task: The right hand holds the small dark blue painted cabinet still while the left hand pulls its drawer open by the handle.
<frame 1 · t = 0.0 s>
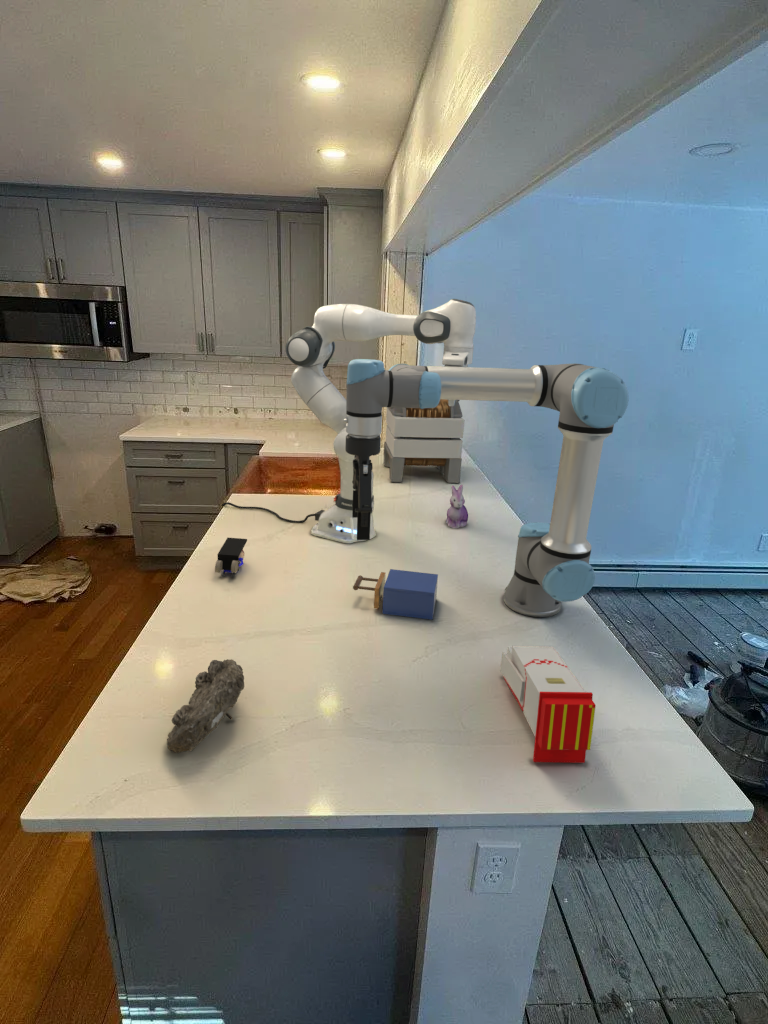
left hand: (454, 403, 174), 48 cm above the counter, tool pointing down, fingers open, 8 cm apart
right hand: (360, 527, 128), 28 cm above the counter, tool pointing down, fingers open, 13 cm apart
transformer: (419, 473, 275), on the counter
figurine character: (232, 569, 168), on the counter
figurine: (456, 524, 211), on the counter
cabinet: (409, 606, 151), on the counter
toy: (536, 712, 113), on the counter
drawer: (388, 591, 151), point 4 cm above the counter, slide at 1.2 cm
fossil: (212, 717, 108), on the counter
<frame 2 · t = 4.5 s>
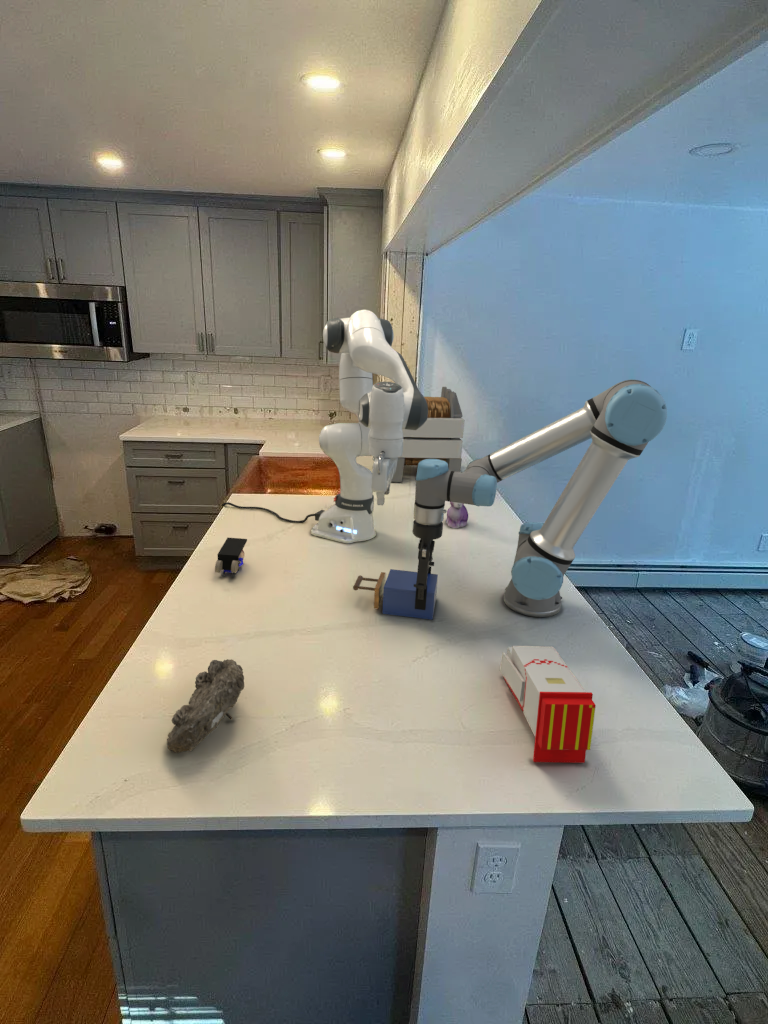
left hand: (383, 499, 149), 27 cm above the counter, tool pointing down, fingers open, 8 cm apart
right hand: (422, 598, 150), 3 cm above the counter, tool pointing down, fingers closed on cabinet, 11 cm apart
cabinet: (409, 606, 151), on the counter, touching right hand
everything else where it was.
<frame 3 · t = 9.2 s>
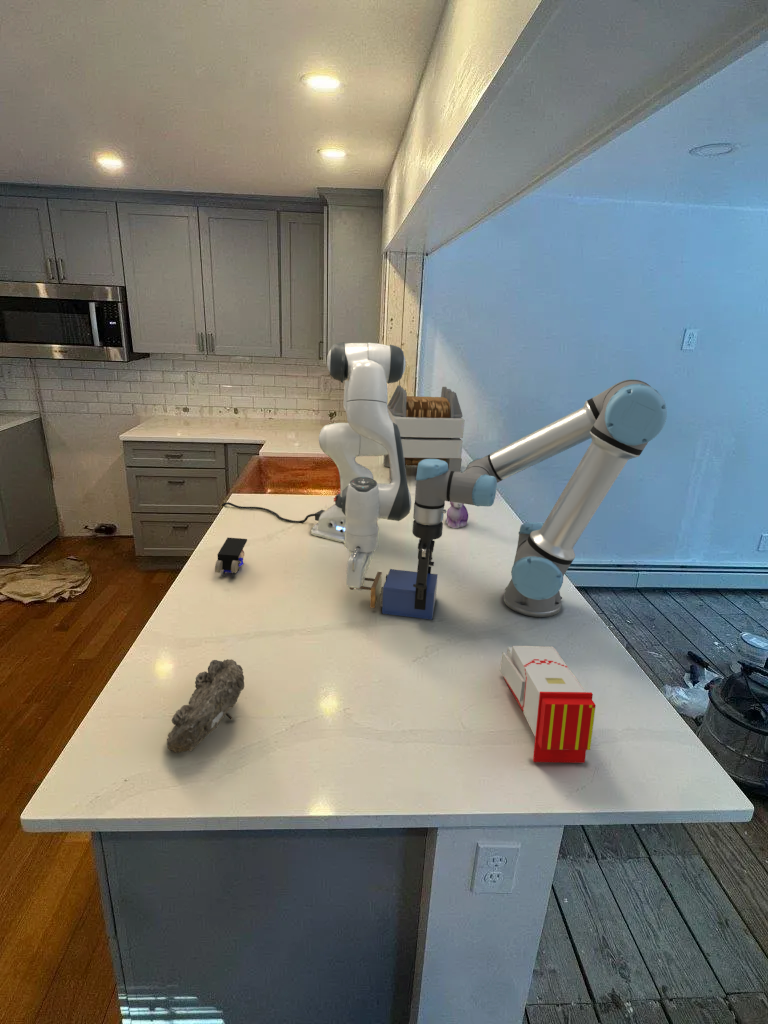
left hand: (360, 587, 152), 4 cm above the counter, tool pointing down, fingers closed, pressing on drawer
right hand: (422, 598, 150), 3 cm above the counter, tool pointing down, fingers closed on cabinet, 11 cm apart
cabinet: (409, 606, 152), on the counter, touching right hand
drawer: (384, 590, 151), point 4 cm above the counter, slide at 2.1 cm, touching left hand
everything else where it was.
when the right hand's fingers open (3 cm above the counter, at t = 12.0 s): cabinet stays where it is, on the counter.
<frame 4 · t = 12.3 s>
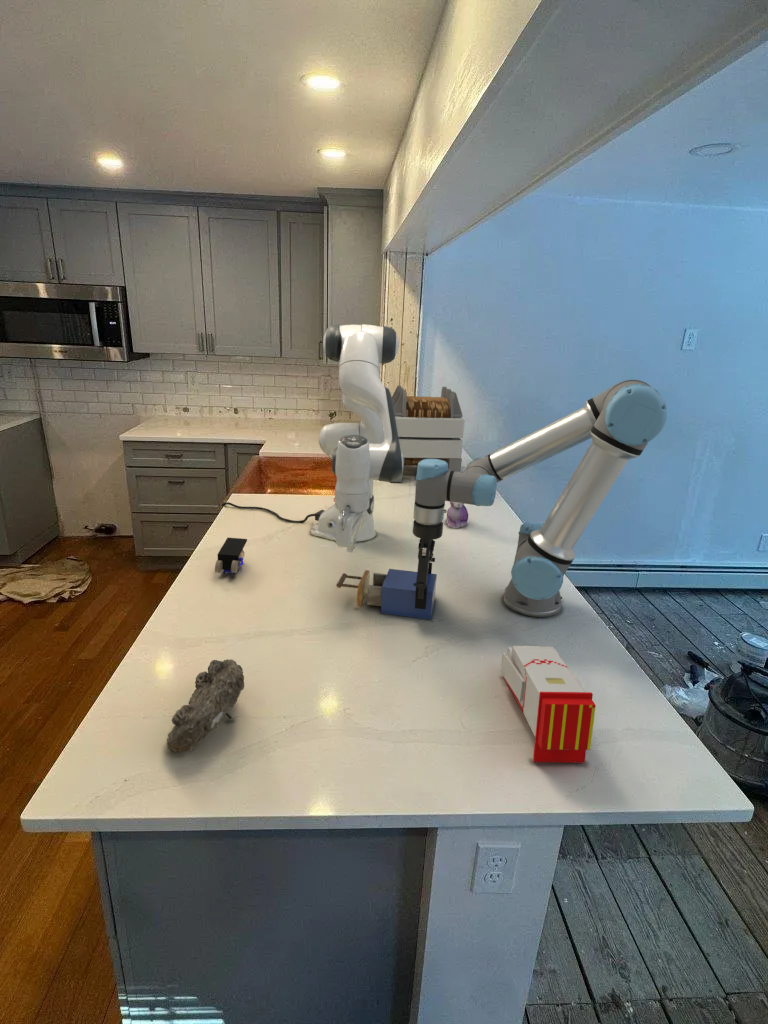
left hand: (350, 550, 149), 15 cm above the counter, tool pointing down, fingers closed
right hand: (423, 595, 150), 4 cm above the counter, tool pointing down, fingers open, 13 cm apart
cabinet: (408, 606, 152), on the counter
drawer: (371, 588, 152), point 4 cm above the counter, slide at 5.3 cm
everything else where it was.
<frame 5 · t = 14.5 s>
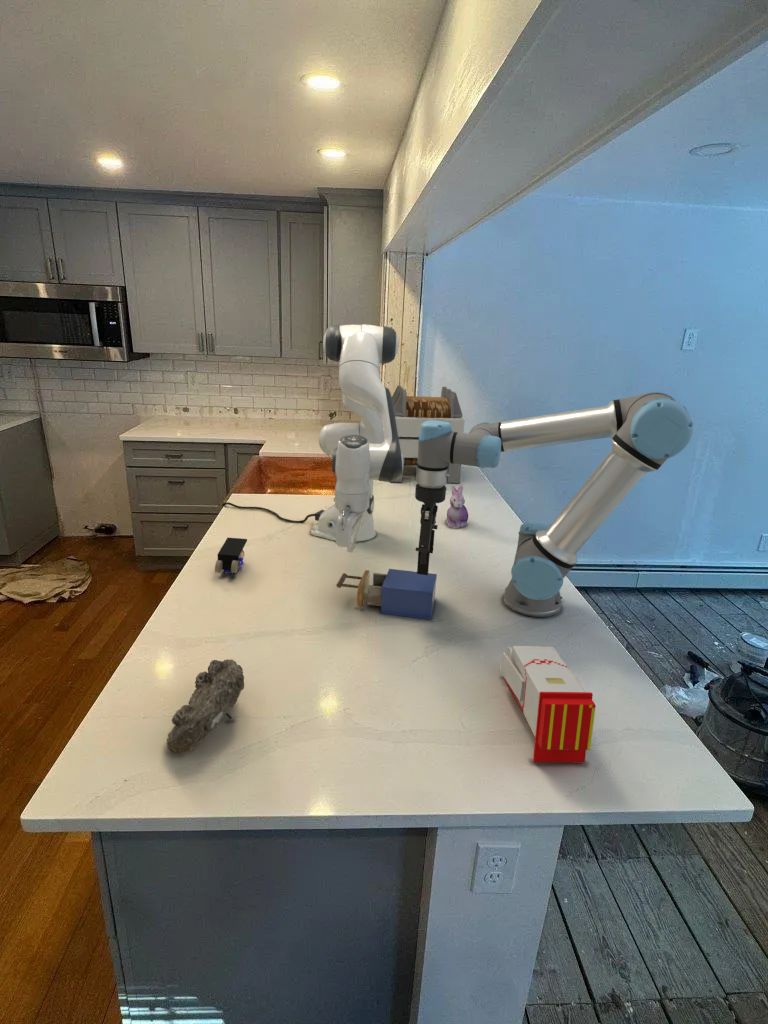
left hand: (350, 550, 149), 15 cm above the counter, tool pointing down, fingers closed
right hand: (425, 562, 147), 13 cm above the counter, tool pointing down, fingers open, 13 cm apart
nothing on the counter moved.
at the end: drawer slide at 5.3 cm; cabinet tilted 0°; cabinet never tilted more than 3° during the clip; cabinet moved 0.4 cm from its start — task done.
